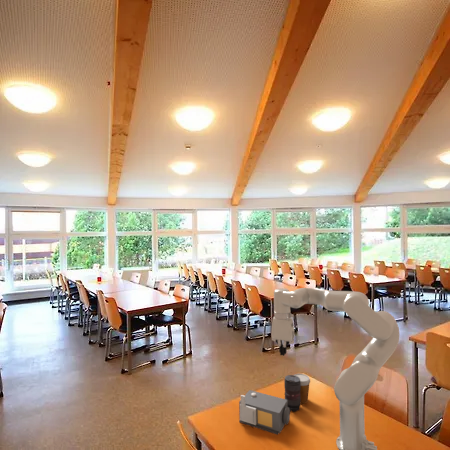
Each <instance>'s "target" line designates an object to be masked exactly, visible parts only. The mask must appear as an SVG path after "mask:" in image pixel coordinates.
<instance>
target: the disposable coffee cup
mask: <svg viewBox="0 0 450 450" xmlns="http://www.w3.org/2000/svg"><path fill="white" fill-rule="evenodd" d="M293 375H294V376H297V377H299V378H300V381H301V390H300V398H301V402H300V404H306V403H308V402H309V401H308V400H309V391H310V383H311V378H310V376H308V375H307V374H304V373H296V374H293Z"/></svg>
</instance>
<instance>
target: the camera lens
mask: <svg viewBox="0 0 450 450" xmlns="http://www.w3.org/2000/svg"><path fill="white" fill-rule="evenodd" d="M294 375H295V374H288V375H285V376H284V379H283V380H284V381H283V382H284V385H283V386H284V399H286V400H288V407H289V408H290V412H298V411H300V407H301V403H300V402H301V398H300V390H301V381H300V378H299V377H297V376H294Z"/></svg>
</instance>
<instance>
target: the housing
mask: <svg viewBox="0 0 450 450" xmlns="http://www.w3.org/2000/svg"><path fill="white" fill-rule="evenodd" d="M244 396H245V405H246V406H250V407H253V408H256V425H253V424H250V423H247V422H244V421H241V420H240V419H238V420H239V423H241V424H244V425H246V426H249V427H253V428H256V429H258V430H262V431H265V432H268V433H271V434H274V435H276V436H277V435H278V436H279V434H281V432H282V431H283V429H284V426H285V425H288V424H289V422H290V419H291V418H290V417H291V411H290V408H289V407H288V400H286V399H285V398H282V397H278V396H273V395H271V394H266V393H264V392H263V393H262V392H258V391H255V390H251V389H249V390H248V391H247V392H246V393H245V395H244ZM238 403H239V404H238V405H239V407H238V408H239V414H238V415H239V418H240V404H241V399H240V400H239V402H238Z"/></svg>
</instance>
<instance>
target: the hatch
mask: <svg viewBox="0 0 450 450" xmlns="http://www.w3.org/2000/svg"><path fill="white" fill-rule="evenodd" d="M240 400H241V404H240V417H239V420H241V421H244V422H247V423H250V424H253V425H256V408H253V407H250V406H246V405H245V395H244V394H240Z"/></svg>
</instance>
